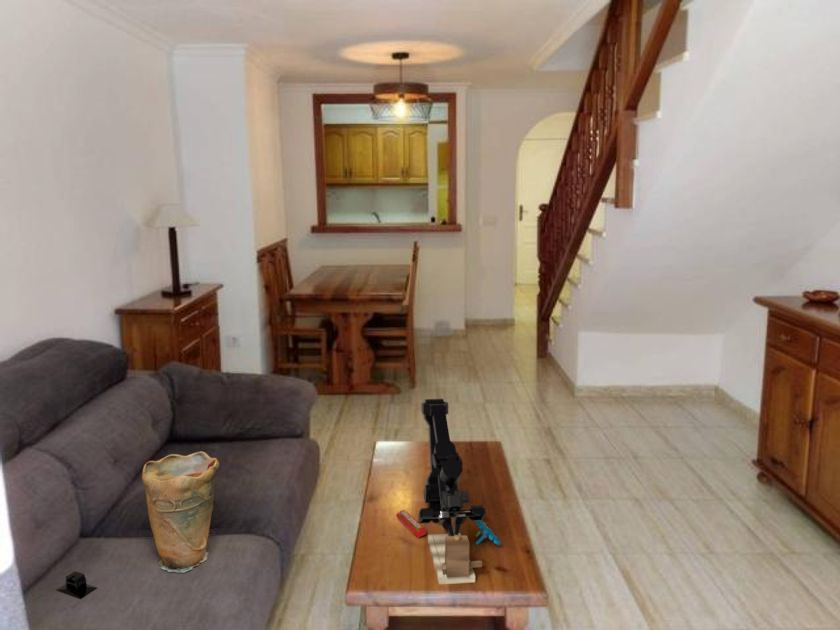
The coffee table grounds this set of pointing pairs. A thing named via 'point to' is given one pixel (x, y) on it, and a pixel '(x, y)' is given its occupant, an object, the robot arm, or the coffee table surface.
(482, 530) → the gear
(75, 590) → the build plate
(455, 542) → the tan knobbed block
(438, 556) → the pine board
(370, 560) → the coffee table surface
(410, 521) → the candy bar
